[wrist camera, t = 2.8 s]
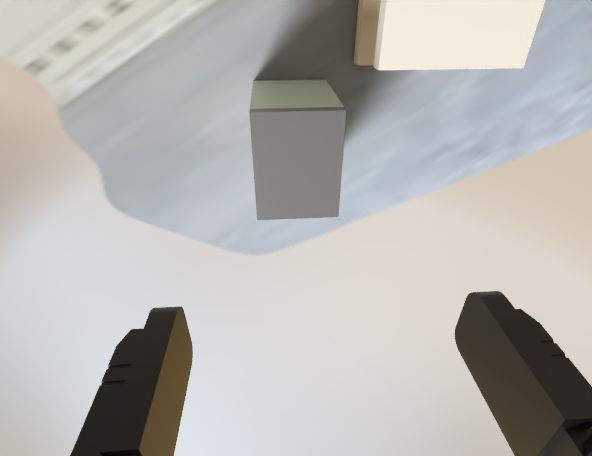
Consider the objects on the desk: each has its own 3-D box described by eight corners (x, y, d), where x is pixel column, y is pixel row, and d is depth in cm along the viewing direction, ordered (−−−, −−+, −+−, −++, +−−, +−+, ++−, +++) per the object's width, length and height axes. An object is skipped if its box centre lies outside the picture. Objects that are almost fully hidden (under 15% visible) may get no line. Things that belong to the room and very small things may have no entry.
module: (259, 168, 26) (257, 220, 20) (253, 80, 23) (249, 112, 17) (322, 166, 26) (338, 216, 20) (325, 79, 23) (346, 110, 17)
